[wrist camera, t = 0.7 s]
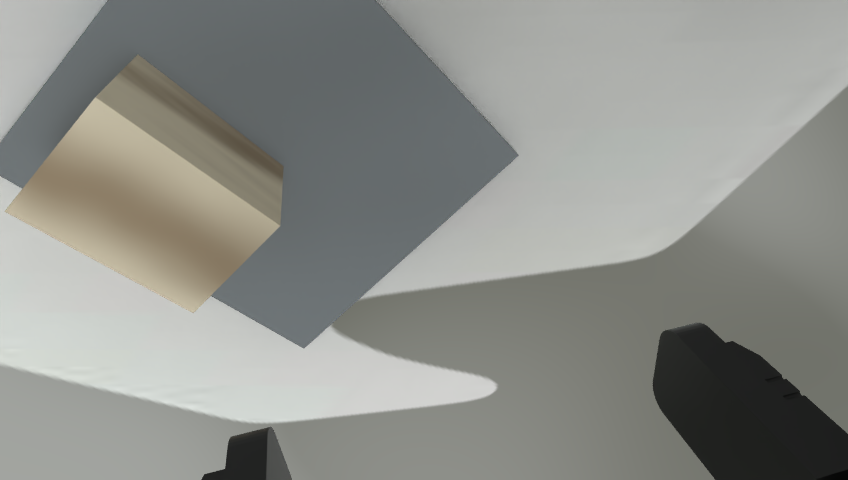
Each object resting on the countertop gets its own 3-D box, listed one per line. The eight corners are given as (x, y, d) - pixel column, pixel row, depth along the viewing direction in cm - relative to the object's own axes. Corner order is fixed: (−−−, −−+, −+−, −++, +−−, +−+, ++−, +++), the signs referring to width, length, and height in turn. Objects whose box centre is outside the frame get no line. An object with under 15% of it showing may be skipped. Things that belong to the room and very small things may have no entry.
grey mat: (229, -158, 21) (227, -159, 20) (515, 151, 30) (518, 155, 30) (-12, 161, 25) (-17, 166, 25) (303, 343, 35) (303, 348, 35)
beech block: (137, 54, 24) (95, 97, 19) (283, 166, 28) (280, 226, 23) (62, 148, 25) (4, 211, 20) (210, 241, 29) (193, 313, 24)
